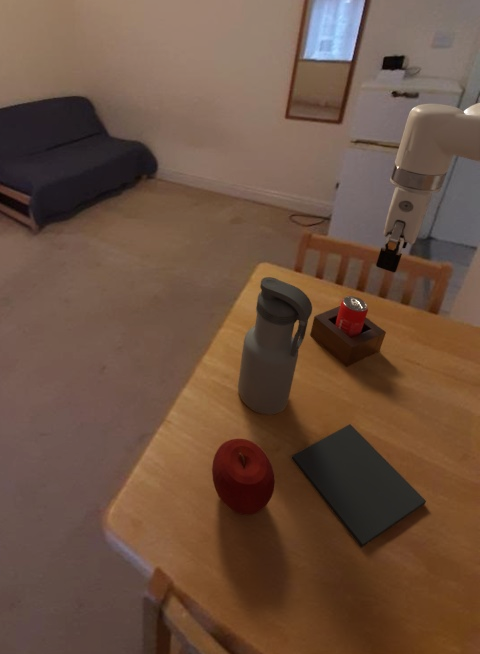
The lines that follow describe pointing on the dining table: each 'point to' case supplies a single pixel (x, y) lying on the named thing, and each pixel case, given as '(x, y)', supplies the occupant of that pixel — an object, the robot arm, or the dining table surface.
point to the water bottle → (273, 346)
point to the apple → (243, 476)
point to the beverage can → (351, 316)
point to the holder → (346, 338)
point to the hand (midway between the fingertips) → (391, 256)
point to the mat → (357, 484)
